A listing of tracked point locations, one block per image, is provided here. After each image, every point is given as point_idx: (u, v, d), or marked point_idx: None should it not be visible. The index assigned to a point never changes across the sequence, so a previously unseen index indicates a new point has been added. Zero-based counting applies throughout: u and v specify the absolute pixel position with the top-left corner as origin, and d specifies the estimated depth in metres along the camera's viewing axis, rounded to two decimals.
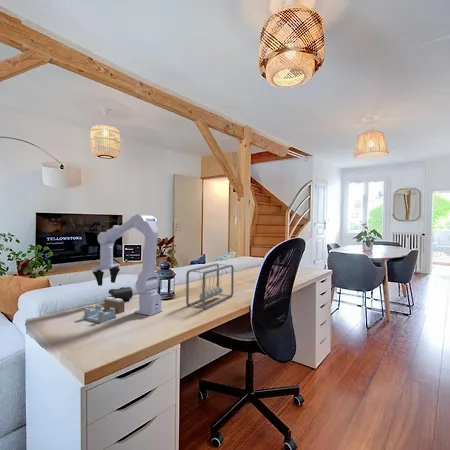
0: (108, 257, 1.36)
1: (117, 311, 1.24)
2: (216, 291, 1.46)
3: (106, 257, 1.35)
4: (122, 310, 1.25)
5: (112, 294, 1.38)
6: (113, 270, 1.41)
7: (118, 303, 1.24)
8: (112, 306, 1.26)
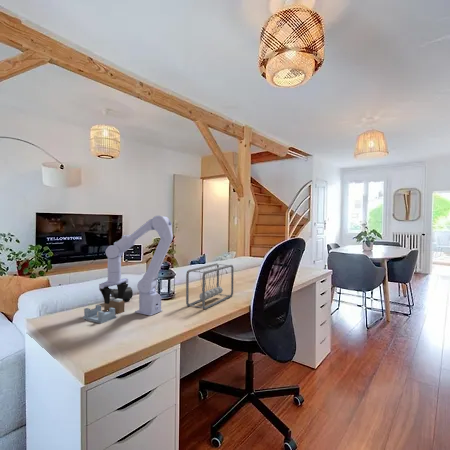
0: (116, 272, 1.25)
1: (117, 311, 1.24)
2: (216, 291, 1.46)
3: (114, 272, 1.25)
4: (122, 310, 1.25)
5: (112, 294, 1.38)
6: (121, 286, 1.30)
7: (118, 303, 1.24)
8: (112, 306, 1.26)
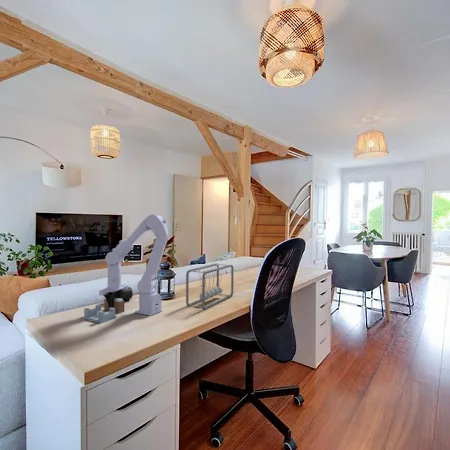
0: (116, 279, 1.25)
1: (117, 311, 1.24)
2: (216, 291, 1.46)
3: (114, 279, 1.25)
4: (122, 310, 1.25)
5: None
6: (117, 293, 1.28)
7: (118, 303, 1.24)
8: None
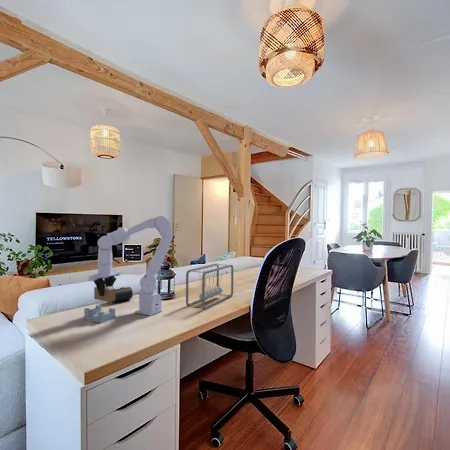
0: (107, 264, 1.18)
1: (107, 299, 1.18)
2: (216, 291, 1.46)
3: (104, 264, 1.18)
4: (113, 298, 1.19)
5: None
6: (108, 280, 1.22)
7: (108, 291, 1.17)
8: None
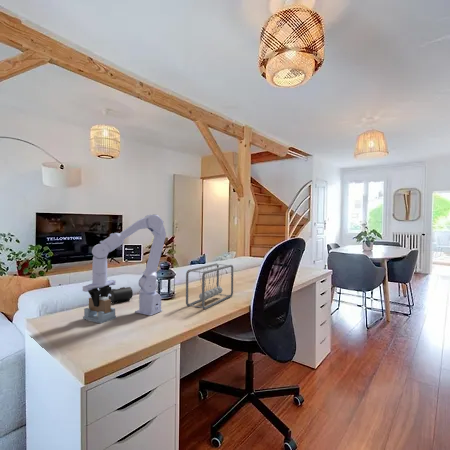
0: (102, 273, 1.15)
1: (102, 310, 1.14)
2: (216, 291, 1.46)
3: (99, 274, 1.14)
4: (108, 309, 1.15)
5: (112, 294, 1.38)
6: (103, 289, 1.18)
7: (103, 302, 1.14)
8: None
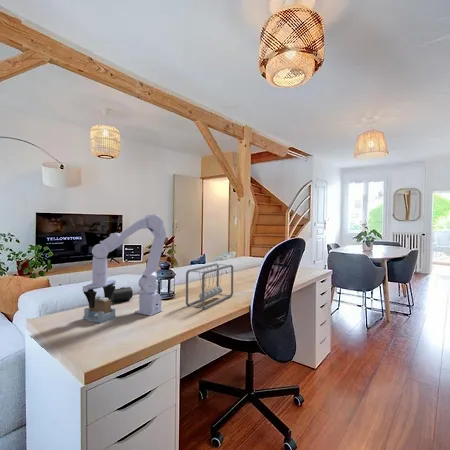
0: (102, 273, 1.15)
1: (102, 311, 1.14)
2: (216, 291, 1.46)
3: (99, 274, 1.14)
4: (108, 310, 1.15)
5: (112, 294, 1.38)
6: (107, 288, 1.20)
7: (103, 302, 1.14)
8: (97, 306, 1.16)
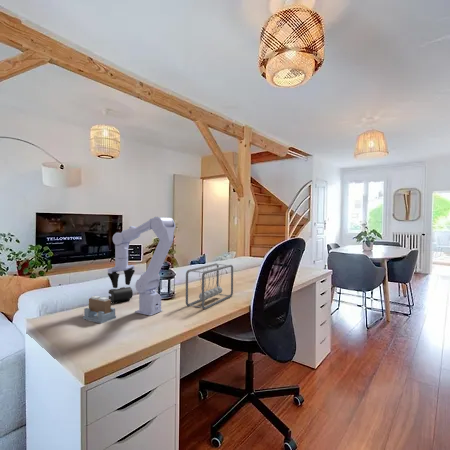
0: (124, 258, 1.31)
1: (102, 311, 1.14)
2: (216, 291, 1.46)
3: (121, 258, 1.31)
4: (108, 310, 1.15)
5: (112, 294, 1.38)
6: (128, 272, 1.36)
7: (103, 302, 1.14)
8: (97, 306, 1.16)
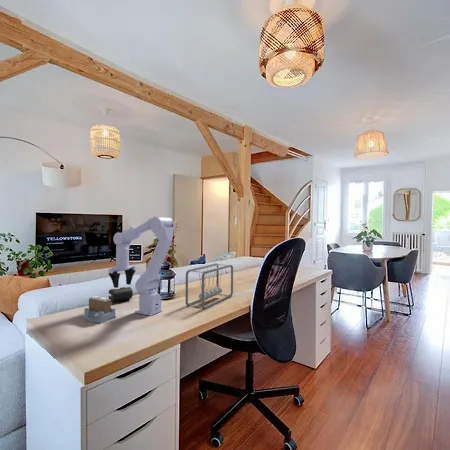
0: (125, 258, 1.32)
1: (102, 311, 1.14)
2: (215, 291, 1.46)
3: (122, 258, 1.31)
4: (108, 310, 1.15)
5: (112, 294, 1.38)
6: (129, 271, 1.37)
7: (103, 302, 1.14)
8: (97, 306, 1.16)
